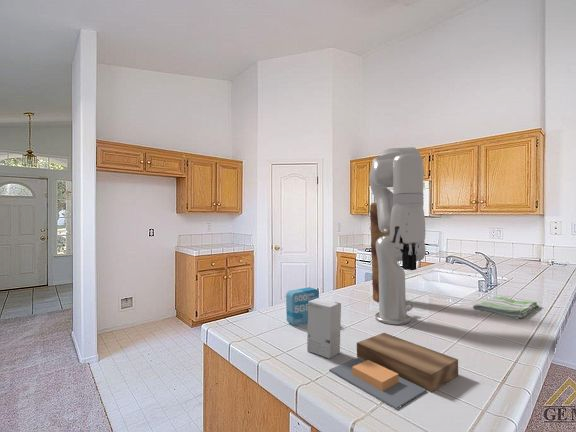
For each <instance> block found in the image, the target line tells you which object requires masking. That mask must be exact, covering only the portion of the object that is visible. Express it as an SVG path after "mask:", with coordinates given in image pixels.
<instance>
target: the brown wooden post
mask: <svg viewBox="0 0 576 432" xmlns="http://www.w3.org/2000/svg"><path fill="white" fill-rule="evenodd" d="M369 217H370V252H371V269H372V270H371V271H372V276H371V278H372V279H371V280H372V283H371V284H372V286H371V287H372V299H373V301H374V302H376V303H379V270H378V259H377V252H376V241H377V239H378V238H380V237H382V236H388V235H390V234H385V233H382V232H381V231H380V230H379V226H378V215H377V203H376V202H371V203H370V205H369Z"/></svg>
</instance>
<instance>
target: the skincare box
mask: <svg viewBox="0 0 576 432" xmlns="http://www.w3.org/2000/svg"><path fill="white" fill-rule="evenodd" d="M341 311H342V303H341V302H337V301H333V300H330V299H325V298H322V297H319V298H317V299H314V300H311V301H308V323H307V343H306V344H307V345H306V347H307V349H306V351H307V353H308V352H309V353H313V354H315V355H317V356H321V357H324V358H327V359H332V358H333V357H335V356H337V355H338V354H340V352H341V325H342V324H341V323H342V321H341V318H342V317H341V316H342V315H341V314H342V312H341Z"/></svg>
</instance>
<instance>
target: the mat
mask: <svg viewBox="0 0 576 432" xmlns="http://www.w3.org/2000/svg"><path fill="white" fill-rule="evenodd" d="M364 361H365V360H363V359H361V358H359V357H355V358H354V359H351V360H349V361H347V362H344V363H341V364H339V365H337V366H334V367H331V368H329V369H328V370H329V372H330V373H332V374H333V375H336V376H337V377H339V378H340V379H342V380H344V381H346V382H348V383H349V384H351V385H353V386H354V387H356V388H358V389H360V390H362V391H363V392H365V393H366V394H369V395H370V396H372V397H373V396H374V398H375V397H376V398H375V399H377V400H379V401H380V400H381V402H382V403H383V404H385V403H386V405H387V406H389V405H390V406H389V407H391V408H392V407H393V408H392V409H394V408H395V409H394V410H396V409H397V408H398V409H400V408H401V407H400V406H402V405H403V406H405V405H406V404H408V403H409V402H408V401H410V400H411V401H413V400H414V398H415V397H416V398H418V397H419V396H421V395H422V393H423V394H424V393H426V392H427V390H426V389H424V388H422V387H420V386H418V385H416V384H414V383H411V382H409V381H407V380H405V379H403V378H401V377H399V382H398V383H396V384H395V385H393V386H391V387H389V388H387V389H386V390H384V391H381V390H379V389H377V388H376V387H374V386H372V385H370V384H368V383H366V382H365V381H363V380H361V379H359V378H357V377H355V376H353V375H352V367H353V366H355V365H358V364H360V363H362V362H364ZM420 394H421V395H420ZM417 396H418V397H417ZM416 398H415V399H416ZM412 399H413V400H412ZM411 401H410V402H411ZM407 402H408V403H407ZM405 403H406V404H405ZM404 404H405V405H404ZM403 406H402V407H403ZM399 407H400V408H399ZM398 409H397V410H398Z"/></svg>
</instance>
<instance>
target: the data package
mask: <svg viewBox="0 0 576 432" xmlns="http://www.w3.org/2000/svg"><path fill="white" fill-rule="evenodd" d="M317 298H320V293H319V290H318V289H316V288H313V287H311V286H309V287H302V288H298V289H292V290H288V291H287V292H286V294H285V299H286V300H285V304H286V305H285V306H286V308H285V309H286V310H285V311H286V312H285V313H286V322H287V323H289V324H291V325H293V326H295V327H297V326H300V325H301V326H302V325H305V324H308V301H311V300H314V299H317Z"/></svg>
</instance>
